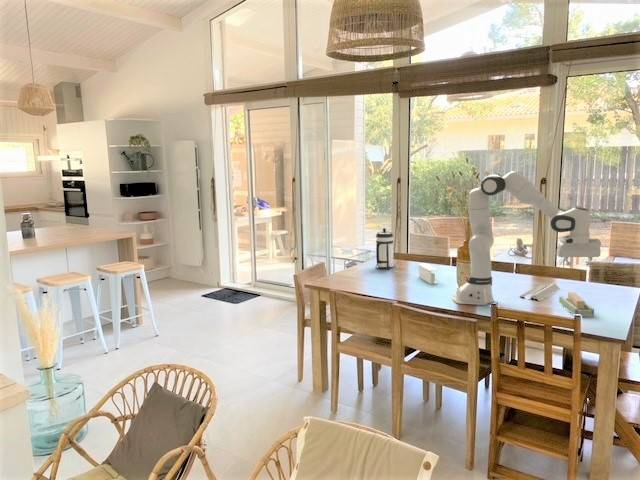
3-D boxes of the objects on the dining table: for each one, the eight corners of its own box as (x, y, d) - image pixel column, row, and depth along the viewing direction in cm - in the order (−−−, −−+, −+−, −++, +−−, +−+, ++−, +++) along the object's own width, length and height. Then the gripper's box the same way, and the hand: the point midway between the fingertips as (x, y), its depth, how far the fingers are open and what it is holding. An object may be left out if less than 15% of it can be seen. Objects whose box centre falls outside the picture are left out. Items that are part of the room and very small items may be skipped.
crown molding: (540, 286, 300) (540, 281, 300) (560, 290, 292) (561, 284, 292) (519, 298, 279) (519, 292, 278) (541, 302, 270) (541, 296, 270)
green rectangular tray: (574, 316, 244) (574, 308, 243) (559, 303, 265) (559, 296, 265) (593, 316, 243) (594, 308, 242) (576, 303, 264) (576, 296, 264)
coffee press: (371, 266, 372) (370, 227, 367) (392, 264, 373) (391, 226, 368) (376, 271, 355) (376, 231, 350) (398, 270, 356) (397, 229, 351)
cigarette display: (437, 283, 316) (437, 269, 314) (429, 284, 315) (429, 270, 314) (425, 276, 335) (425, 263, 334) (418, 277, 335) (418, 263, 333)
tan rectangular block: (576, 312, 247) (577, 301, 246) (567, 303, 262) (568, 292, 261) (584, 312, 246) (584, 301, 245) (574, 303, 261) (575, 292, 260)
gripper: (598, 237, 249) (596, 263, 252) (556, 238, 252) (555, 263, 254) (603, 239, 243) (601, 266, 246) (560, 240, 246) (559, 266, 248)
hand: (577, 265), depth 250 cm, fingers open, 8 cm apart
